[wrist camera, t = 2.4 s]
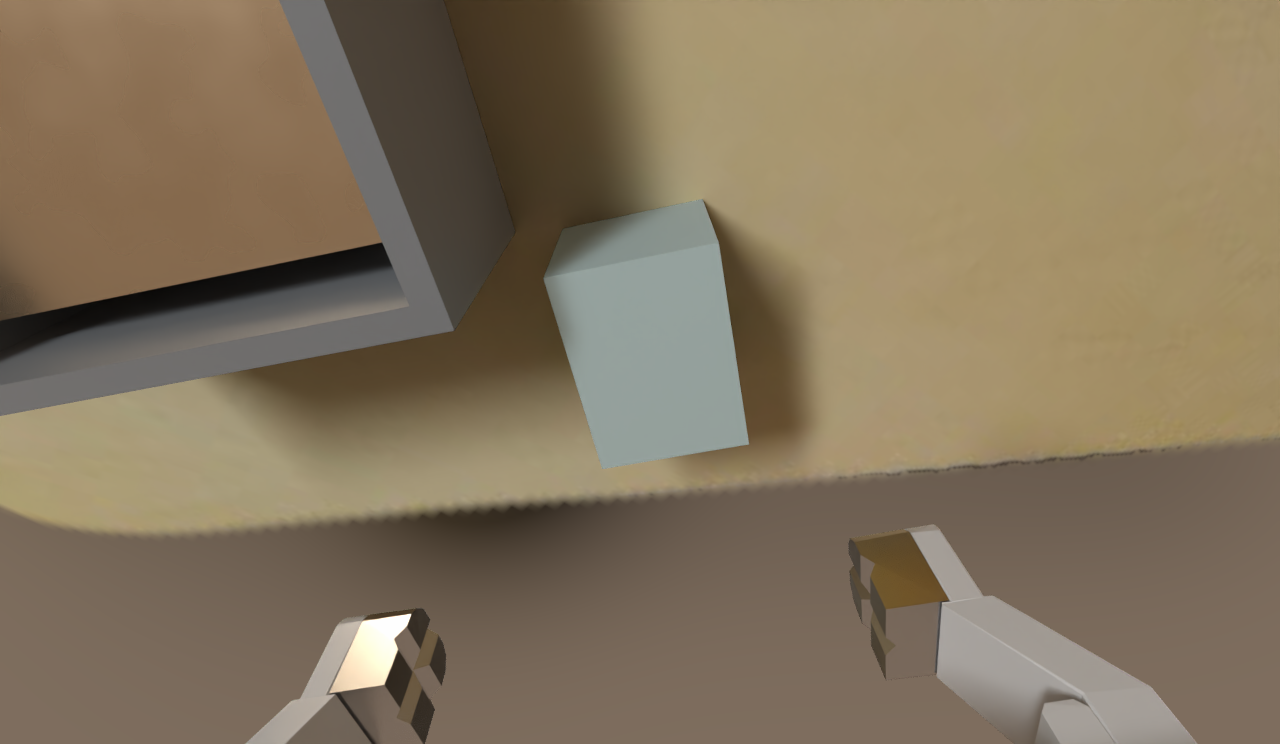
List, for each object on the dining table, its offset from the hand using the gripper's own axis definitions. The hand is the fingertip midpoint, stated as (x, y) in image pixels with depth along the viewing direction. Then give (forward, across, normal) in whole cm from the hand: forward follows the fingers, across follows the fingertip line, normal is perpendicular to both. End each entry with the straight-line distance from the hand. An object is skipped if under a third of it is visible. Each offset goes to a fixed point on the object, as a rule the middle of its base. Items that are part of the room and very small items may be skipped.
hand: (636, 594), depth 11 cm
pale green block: (+13, -1, 0) cm, 13 cm away
